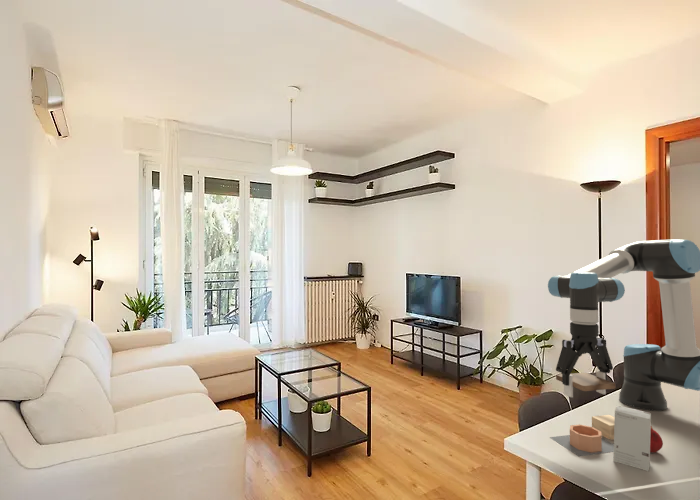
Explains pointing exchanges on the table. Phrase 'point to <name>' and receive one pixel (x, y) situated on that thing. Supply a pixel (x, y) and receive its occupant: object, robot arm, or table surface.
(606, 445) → the placemat
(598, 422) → the light wooden block
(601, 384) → the board
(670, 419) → the table surface
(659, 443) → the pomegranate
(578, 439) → the bowl
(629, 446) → the skincare box
